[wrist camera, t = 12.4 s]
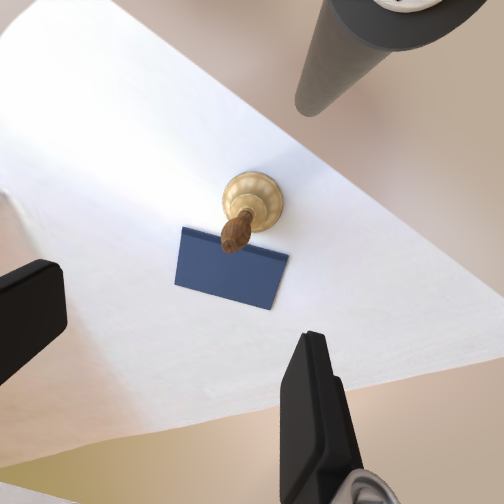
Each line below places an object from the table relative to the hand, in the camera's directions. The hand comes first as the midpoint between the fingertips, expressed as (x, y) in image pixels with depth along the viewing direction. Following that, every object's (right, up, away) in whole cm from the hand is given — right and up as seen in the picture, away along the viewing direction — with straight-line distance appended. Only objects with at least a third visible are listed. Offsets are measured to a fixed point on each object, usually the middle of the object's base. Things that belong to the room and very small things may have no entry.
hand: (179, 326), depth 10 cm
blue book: (-1, 0, +29) cm, 29 cm away
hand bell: (+3, +10, +25) cm, 27 cm away
